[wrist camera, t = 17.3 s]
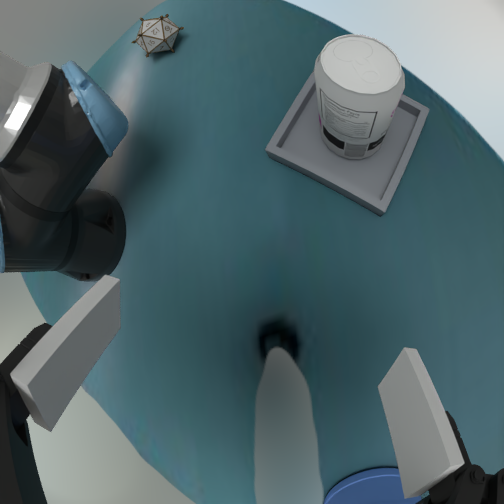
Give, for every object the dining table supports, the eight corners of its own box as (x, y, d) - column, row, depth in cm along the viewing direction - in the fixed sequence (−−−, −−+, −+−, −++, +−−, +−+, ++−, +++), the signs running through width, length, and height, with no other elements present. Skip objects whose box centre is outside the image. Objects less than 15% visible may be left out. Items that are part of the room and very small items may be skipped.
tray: (269, 157, 37) (264, 149, 35) (321, 70, 36) (320, 58, 33) (380, 216, 34) (384, 212, 31) (423, 118, 32) (429, 109, 29)
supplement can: (310, 115, 35) (298, 42, 21) (366, 98, 33) (378, 24, 19) (335, 169, 34) (338, 111, 20) (393, 150, 33) (425, 88, 18)
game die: (168, 55, 47) (137, 24, 40) (199, 33, 42) (167, -2, 36) (148, 74, 43) (113, 39, 36) (181, 49, 38) (143, 9, 31)
